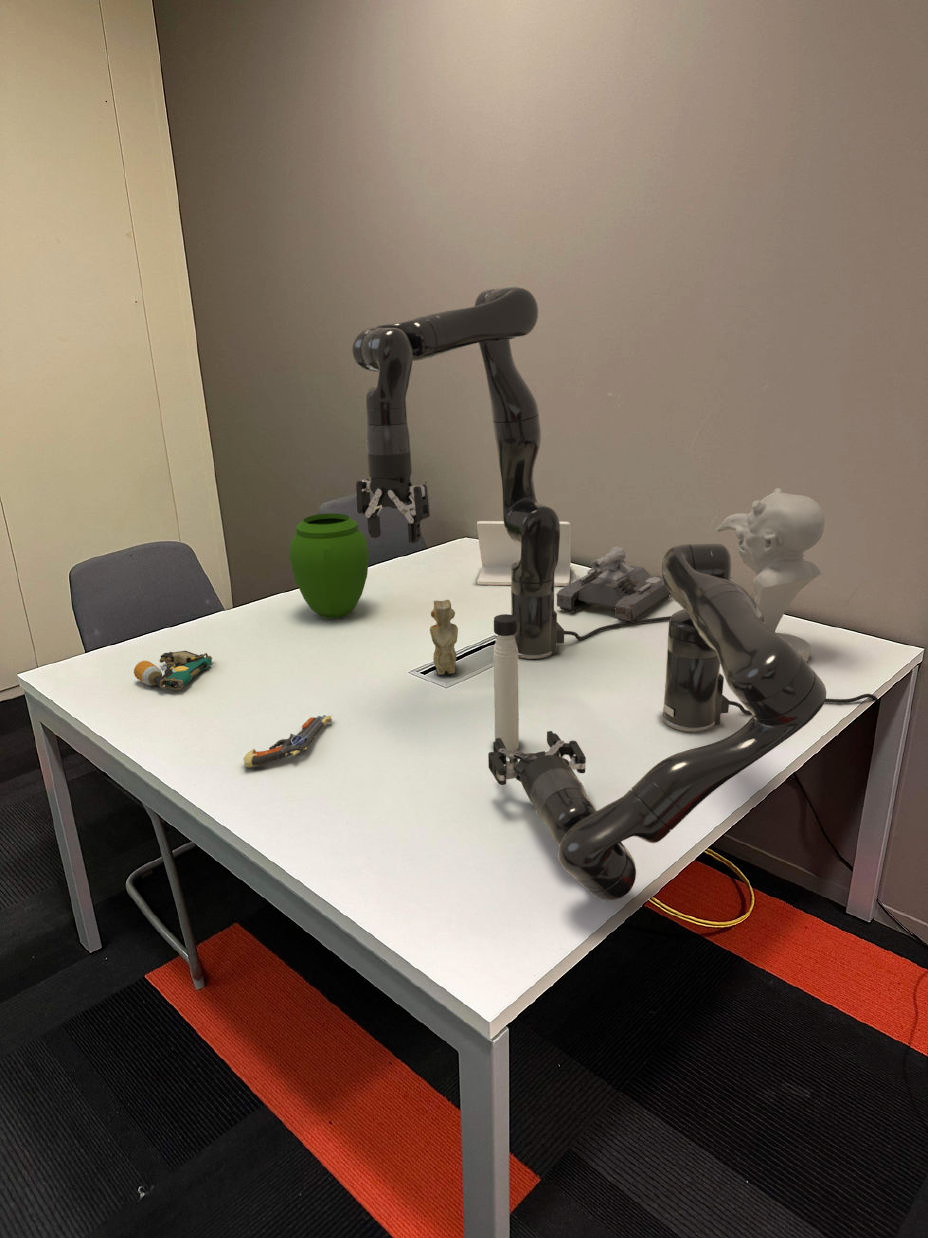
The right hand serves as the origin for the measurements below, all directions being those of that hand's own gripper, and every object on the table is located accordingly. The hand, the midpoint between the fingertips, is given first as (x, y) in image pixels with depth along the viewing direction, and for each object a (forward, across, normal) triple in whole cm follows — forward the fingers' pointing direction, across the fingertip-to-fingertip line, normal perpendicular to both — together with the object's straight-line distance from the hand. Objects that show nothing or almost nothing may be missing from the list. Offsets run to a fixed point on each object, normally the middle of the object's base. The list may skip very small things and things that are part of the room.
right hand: (523, 739), depth 137 cm
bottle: (+10, 0, -7) cm, 12 cm away
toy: (+72, +46, -7) cm, 86 cm away
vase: (+86, -24, -7) cm, 90 cm away
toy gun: (+21, -37, -7) cm, 43 cm away
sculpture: (+45, -4, -7) cm, 45 cm away
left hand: (+31, -15, +26) cm, 43 cm away
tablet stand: (+102, +31, -7) cm, 107 cm away
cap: (+10, 0, +17) cm, 20 cm away
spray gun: (+58, -59, -7) cm, 83 cm away
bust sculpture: (+36, +63, -7) cm, 73 cm away
